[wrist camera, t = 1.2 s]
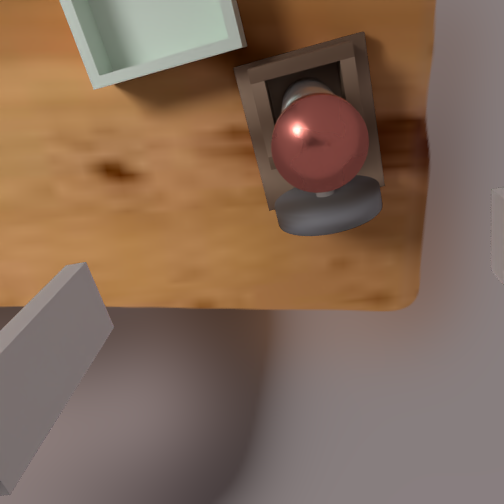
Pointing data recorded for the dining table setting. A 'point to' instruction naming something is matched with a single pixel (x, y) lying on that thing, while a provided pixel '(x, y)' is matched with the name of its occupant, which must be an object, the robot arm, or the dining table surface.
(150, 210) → the dining table surface
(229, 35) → the tray
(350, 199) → the block
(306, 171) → the pin
